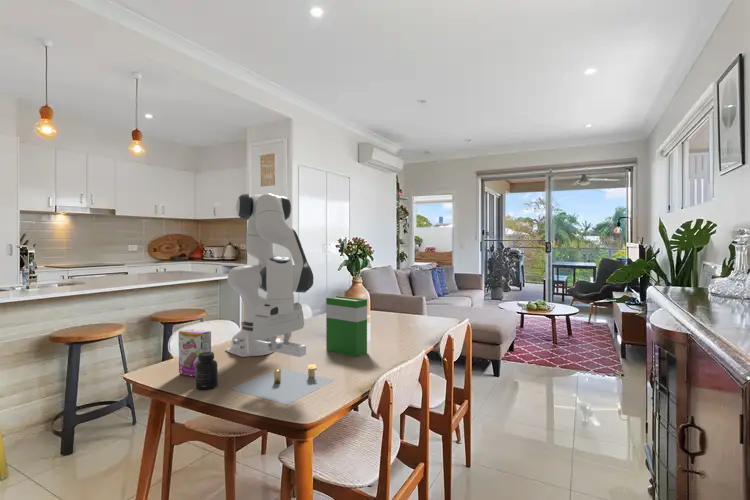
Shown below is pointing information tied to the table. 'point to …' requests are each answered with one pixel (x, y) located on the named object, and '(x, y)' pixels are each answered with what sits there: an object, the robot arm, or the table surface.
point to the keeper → (311, 370)
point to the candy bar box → (192, 348)
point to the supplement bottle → (206, 372)
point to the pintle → (277, 376)
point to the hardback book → (346, 325)
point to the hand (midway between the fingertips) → (280, 347)
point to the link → (281, 347)
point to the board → (283, 386)
